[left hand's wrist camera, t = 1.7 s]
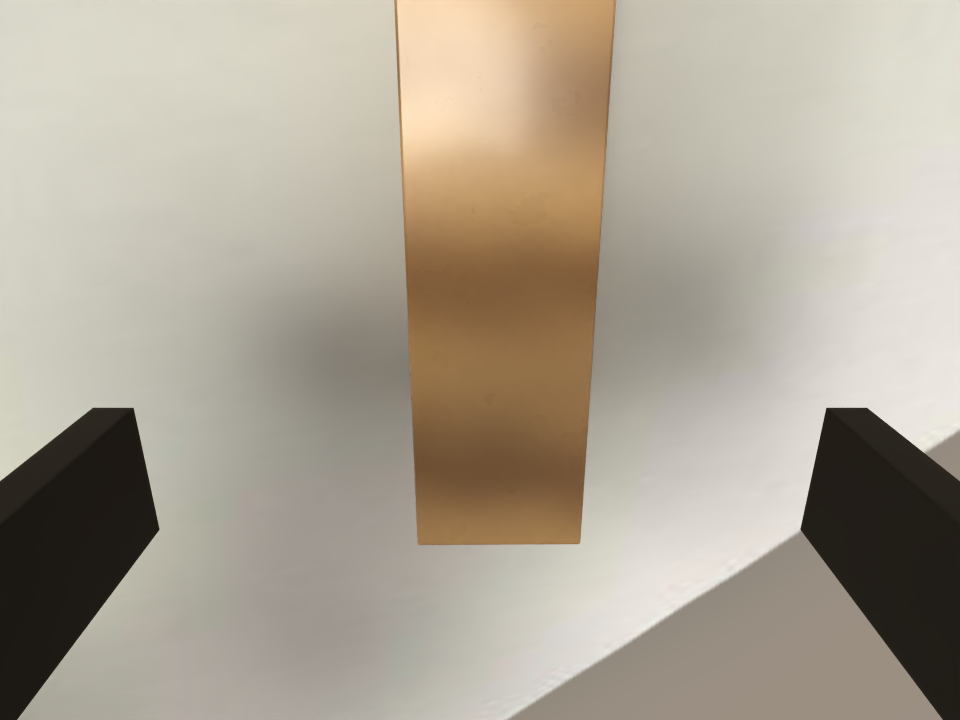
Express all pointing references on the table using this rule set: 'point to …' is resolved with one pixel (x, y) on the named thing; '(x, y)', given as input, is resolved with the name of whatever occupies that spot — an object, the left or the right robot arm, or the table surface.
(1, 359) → the table surface
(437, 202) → the post
